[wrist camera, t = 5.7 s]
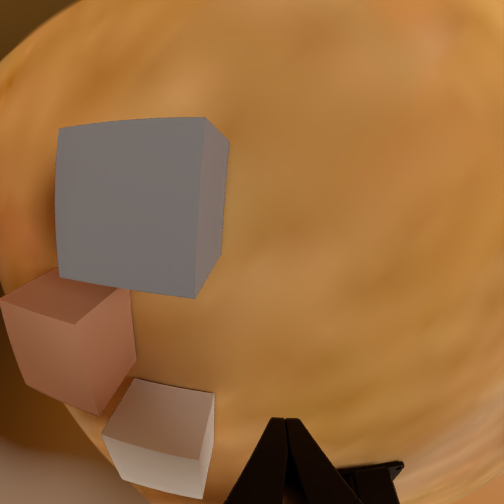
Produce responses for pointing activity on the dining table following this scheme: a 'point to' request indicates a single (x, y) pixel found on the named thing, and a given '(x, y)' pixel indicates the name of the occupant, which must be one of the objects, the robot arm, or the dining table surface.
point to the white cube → (162, 437)
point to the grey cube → (141, 203)
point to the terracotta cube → (71, 338)
